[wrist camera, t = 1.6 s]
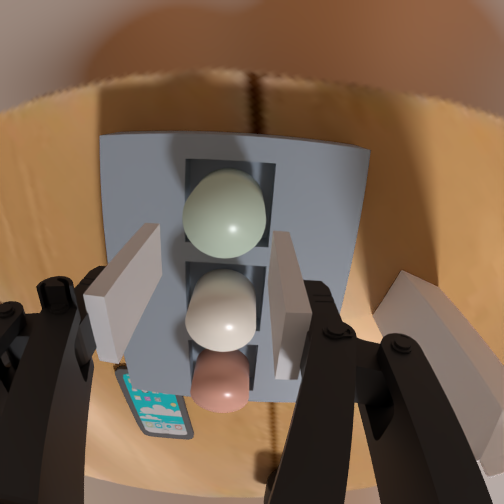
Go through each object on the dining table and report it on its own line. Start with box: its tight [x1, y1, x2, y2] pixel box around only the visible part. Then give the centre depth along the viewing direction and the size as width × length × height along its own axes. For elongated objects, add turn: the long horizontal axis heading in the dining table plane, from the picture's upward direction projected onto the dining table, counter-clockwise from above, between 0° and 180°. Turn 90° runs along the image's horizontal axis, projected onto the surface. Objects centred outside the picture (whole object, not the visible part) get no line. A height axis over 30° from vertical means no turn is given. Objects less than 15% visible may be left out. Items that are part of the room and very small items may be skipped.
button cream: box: [185, 269, 256, 352], centre depth 25 cm, size 5×5×4 cm
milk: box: [373, 270, 504, 477], centre depth 21 cm, size 6×6×22 cm
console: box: [100, 131, 371, 402], centre depth 28 cm, size 20×26×4 cm
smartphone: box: [115, 366, 194, 439], centre depth 38 cm, size 9×1×15 cm
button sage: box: [182, 168, 266, 258], centre depth 22 cm, size 5×5×4 cm
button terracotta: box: [190, 348, 249, 413], centre depth 28 cm, size 5×5×4 cm
